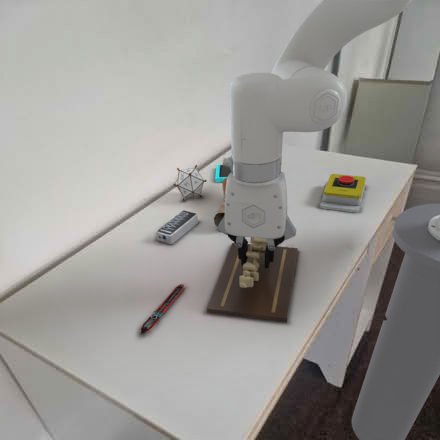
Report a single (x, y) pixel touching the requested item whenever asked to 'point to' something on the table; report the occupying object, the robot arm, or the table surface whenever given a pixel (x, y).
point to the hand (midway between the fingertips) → (256, 262)
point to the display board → (256, 287)
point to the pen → (162, 309)
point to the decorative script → (253, 262)
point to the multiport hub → (177, 227)
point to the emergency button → (343, 193)
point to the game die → (189, 182)
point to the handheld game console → (222, 173)
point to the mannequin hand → (221, 211)
